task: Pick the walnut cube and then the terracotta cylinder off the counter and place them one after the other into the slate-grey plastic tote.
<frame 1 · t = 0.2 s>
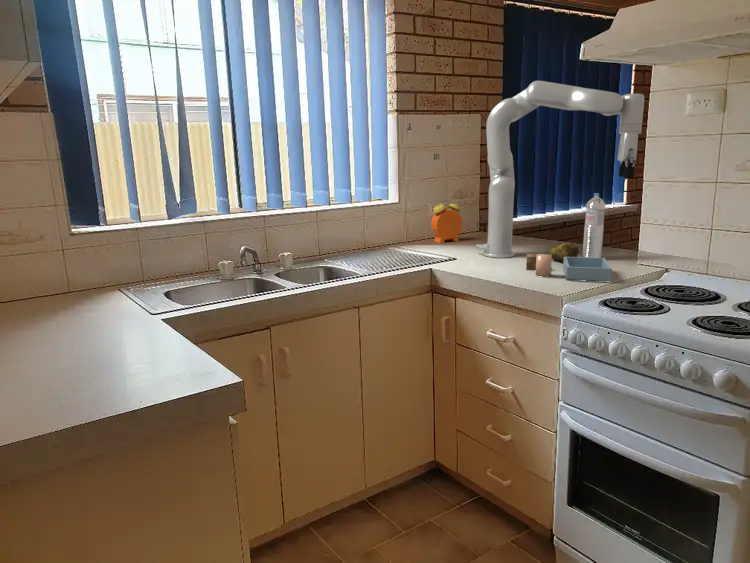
hand: (625, 177, 212), 31 cm above the countertop, fingers open, 9 cm apart
cylinder: (543, 275, 196), on the countertop
alarm clock: (446, 241, 264), on the countertop
water bottle: (591, 259, 222), on the countertop
cube: (533, 269, 206), on the countertop
potato: (563, 263, 216), on the countertop
tote: (585, 275, 195), on the countertop
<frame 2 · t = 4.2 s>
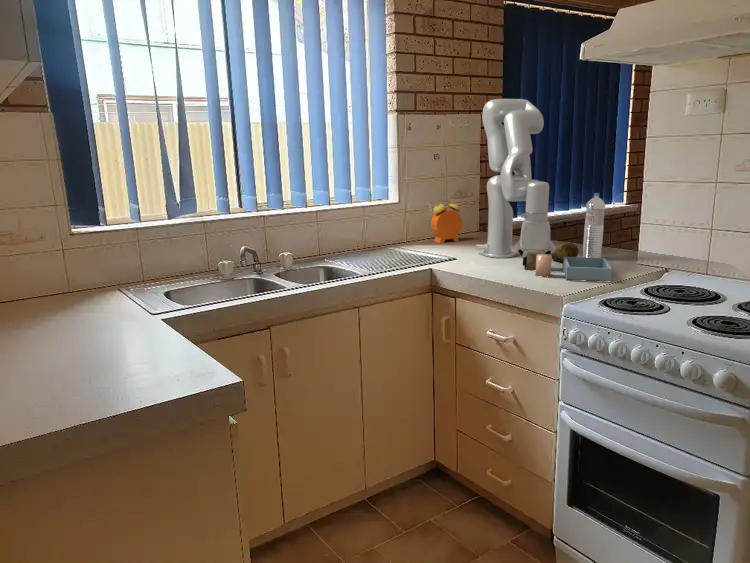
hand: (533, 267, 206), 0 cm above the countertop, fingers closed on cube, 5 cm apart
cube: (533, 269, 206), on the countertop, touching gripper
everything else where it was.
when the fingers open (5 cm above the countertop, at t = 8.6 s): cube drops 4 cm, resting on tote.
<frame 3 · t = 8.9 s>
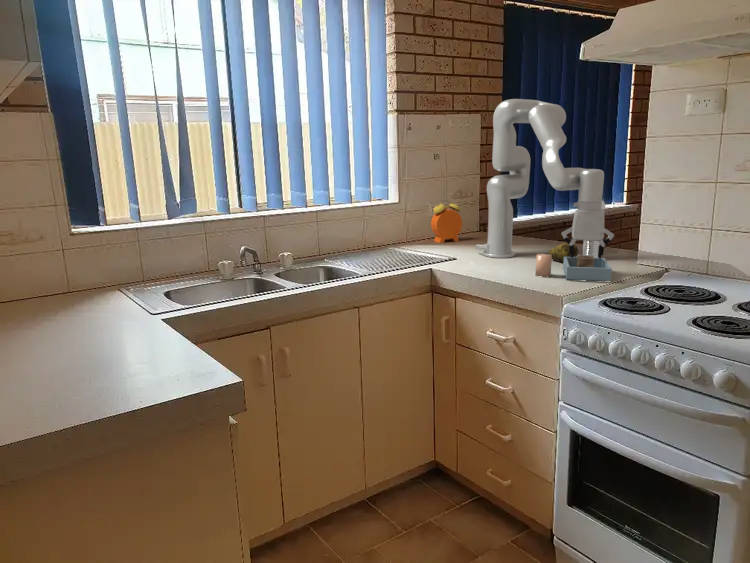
hand: (585, 256, 198), 6 cm above the countertop, fingers open, 8 cm apart
cube: (584, 271, 199), resting on tote
everything else where it was.
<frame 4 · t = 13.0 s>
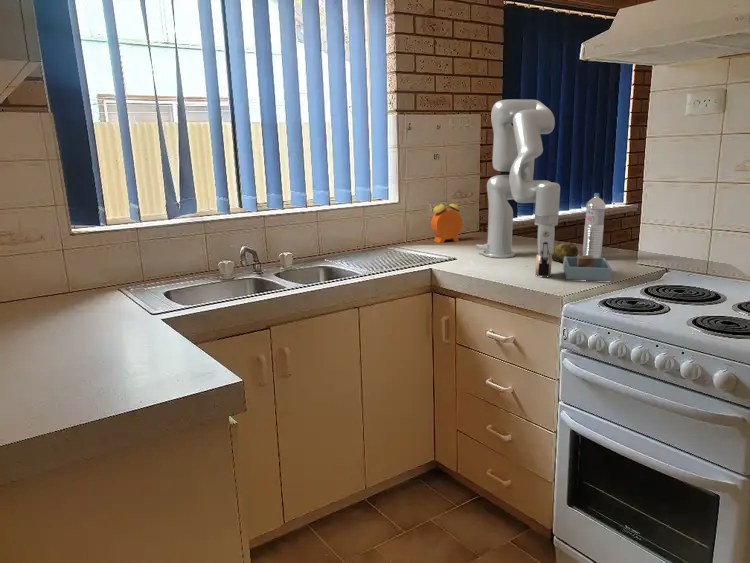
hand: (543, 272, 196), 1 cm above the countertop, fingers closed on cylinder, 5 cm apart
cylinder: (543, 275, 196), on the countertop, touching gripper
everything else where it was.
when the fingers open (5 cm above the countertop, at t = 17.0 s): cylinder drops 3 cm, resting on tote.
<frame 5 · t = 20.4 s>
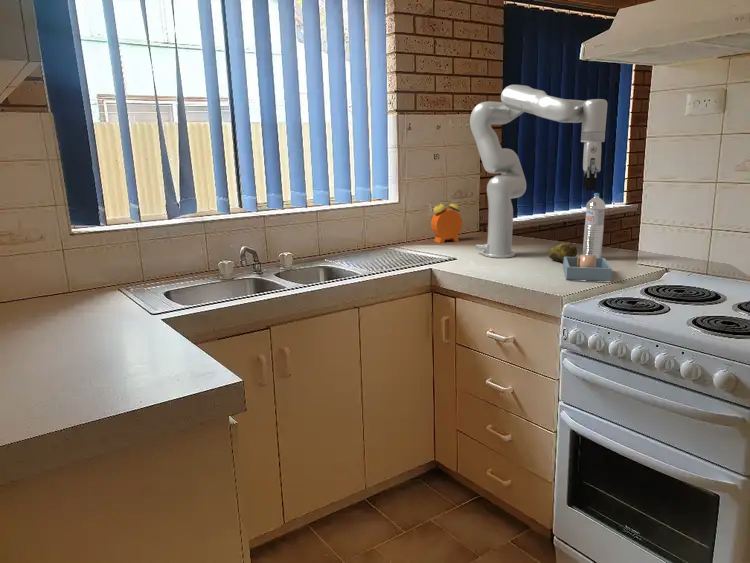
hand: (588, 188, 198), 28 cm above the countertop, fingers open, 9 cm apart
cylinder: (586, 276, 191), point 1 cm above the countertop, touching tote
everything else where it was.
at the end: cube inside the target area on the tote (4.0 cm from its centre), point 0.5 cm above the tote's base; cylinder inside the target area on the tote (4.0 cm from its centre), point 0.6 cm above the tote's base; the gripper is holding nothing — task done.
